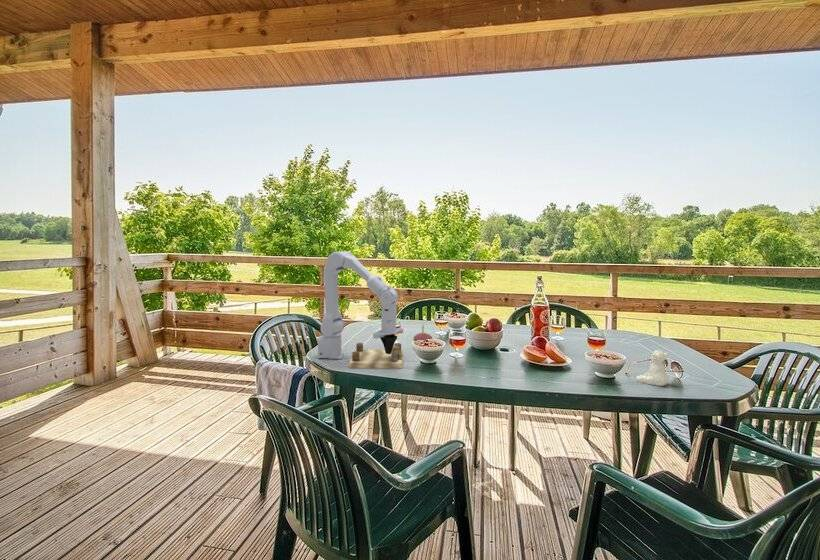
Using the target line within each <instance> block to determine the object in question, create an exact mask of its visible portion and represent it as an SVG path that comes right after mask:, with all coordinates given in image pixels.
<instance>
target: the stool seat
mask: <svg viewBox="0 0 820 560" xmlns="http://www.w3.org/2000/svg"><path fill="white" fill-rule="evenodd" d="M355 345H356V347H355V348H356V349H355V350H354V351H353V352H351V358H350V361H349V365H348V366H349V367H348V368H349V369H397V370H398V369H400V368H402V369H403V357H404V356H403V353H404V352H403V349H402V343H399V342H398V343H396V342H395V343H394V346H399V356H398V360H397V361H392V360H391V354H386V353H385V349H364V343H363V342H356V344H355ZM391 353H392V352H391Z"/></svg>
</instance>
